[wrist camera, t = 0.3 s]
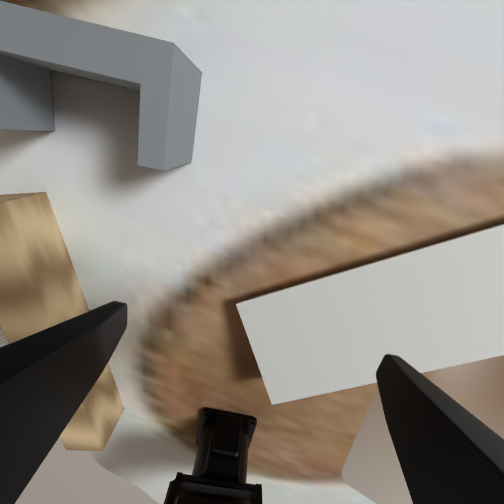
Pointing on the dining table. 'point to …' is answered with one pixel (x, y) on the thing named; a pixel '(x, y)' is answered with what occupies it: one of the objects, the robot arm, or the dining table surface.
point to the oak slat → (49, 303)
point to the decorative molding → (381, 317)
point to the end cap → (98, 78)
